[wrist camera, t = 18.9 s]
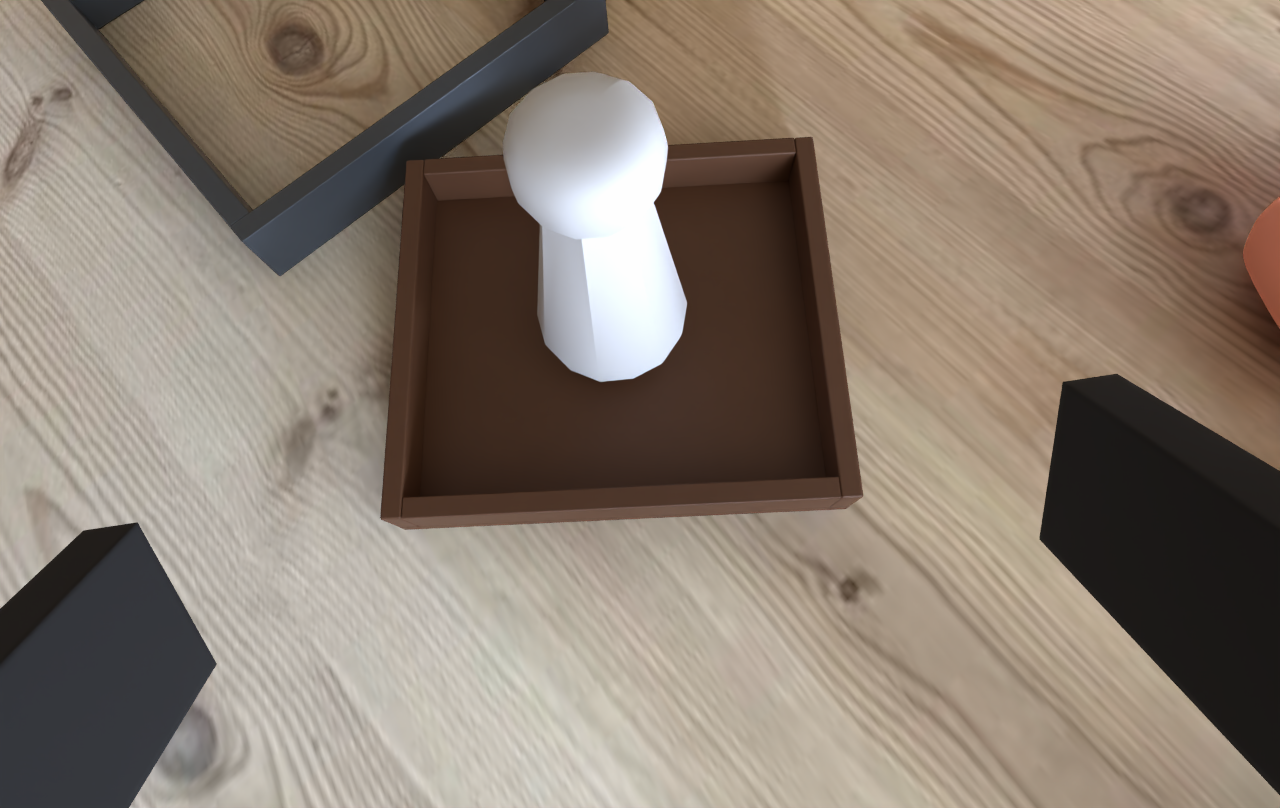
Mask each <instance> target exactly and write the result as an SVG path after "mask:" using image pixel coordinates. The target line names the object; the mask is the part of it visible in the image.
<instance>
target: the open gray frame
mask: <svg viewBox="0 0 1280 808" xmlns="http://www.w3.org/2000/svg"><path fill="white" fill-rule="evenodd" d="M41 1H42V2H43V3H44V5H45V6H46V7H47V8H48V9H49V11H50V12H51V13H52V14H53V15H54V17H55V18H56V19H57V20H58V21H59V23H60V24H61V25H62V26H63V27H64V29H65V30H66V31H67V32H68V33H69V35H70V36H71V37H72V38H73V39H74V41H75V42H76V43H77V44H78V45H79V47H80V48H81V49H82V50H83V51H84V53H85V54H86V55H87V56H88V57H89V59H90V60H91V61H92V62H93V63H94V65H95V66H96V67H97V68H98V69H99V71H100V72H101V73H102V74H103V75H104V77H105V78H106V79H107V80H108V81H109V83H110V84H111V85H112V86H113V87H114V89H115V90H116V91H117V92H118V93H119V95H120V96H121V97H122V98H123V99H124V101H125V102H126V103H127V104H128V105H129V107H130V108H131V109H132V110H133V111H134V113H135V114H136V115H137V116H138V117H139V119H140V120H141V121H142V122H143V123H144V125H145V126H146V127H147V128H148V129H149V131H150V132H151V133H152V134H153V135H154V137H155V138H156V139H157V140H158V141H159V143H160V144H161V145H162V146H163V147H164V149H165V150H166V151H167V152H168V153H169V155H170V156H171V157H172V158H173V159H174V161H175V162H176V163H177V164H178V165H179V167H180V168H181V169H182V170H183V171H184V173H185V174H186V175H187V176H188V177H189V179H190V180H191V181H192V182H193V183H194V185H195V186H196V187H197V188H198V189H199V191H200V192H201V193H202V194H203V195H204V197H205V198H206V199H207V200H208V201H209V203H210V204H211V205H212V206H213V207H214V209H215V210H216V211H217V212H218V213H219V215H220V216H221V217H222V218H223V219H224V221H225V222H226V223H227V224H228V225H229V227H231V229H232V230H233V232H234V233H235V234H236V235H237V236H238V237H239V239H240V240H241V241H242V242H243V243H244V244H245V245H246V246H247V247H248V248H249V249H250V250H252V251H253V252H254V253H255V254H256V255H257V256H258V257H259V258H260V259H261V260H262V261H264V262H265V263H266V264H267V265H268V266H269V267H270V268H271V269H272V270H273V271H274V272H276V273H277V274H278V275H279V276H281V275H282V274H284V273H285V272H286V271H288V270H289V269H290V268H292V267H293V266H294V265H296V264H297V263H298V262H300V261H301V260H303V259H304V258H305V257H307V256H308V255H309V254H311V253H312V252H313V251H315V250H316V249H317V248H319V247H320V246H321V245H323V244H324V243H325V242H327V241H328V240H330V239H331V238H332V237H334V236H335V235H336V234H338V233H339V232H340V231H342V230H343V229H344V228H346V227H347V226H348V225H350V224H351V223H352V222H354V221H355V220H356V219H358V218H359V217H361V216H362V215H363V214H365V213H366V212H367V211H369V210H370V209H371V208H373V207H374V206H375V205H377V204H378V203H379V202H381V201H382V200H383V199H385V198H386V197H388V196H389V195H390V194H392V193H393V192H394V191H396V190H397V189H398V188H400V187H401V186H402V185H404V184H405V174H406V162H407V161H410V160H424V161H425V160H426V159H439V158H440V157H442V156H443V155H444V154H446V153H447V152H448V151H450V150H451V149H452V148H454V147H455V146H456V145H458V144H459V143H460V142H462V141H463V140H464V139H466V138H467V137H469V136H470V135H471V134H473V133H474V132H475V131H477V130H478V129H479V128H481V127H482V126H483V125H485V124H486V123H487V122H489V121H490V120H491V119H493V118H494V117H496V116H497V115H498V114H500V113H501V112H502V111H504V110H505V109H506V108H508V107H509V106H510V105H512V104H513V103H514V102H516V101H517V100H518V99H520V98H521V97H523V96H524V95H525V94H527V93H528V92H529V91H531V90H532V89H533V88H535V87H536V86H537V85H539V84H540V83H541V82H543V81H544V80H545V79H547V78H548V77H550V76H551V75H552V74H554V73H555V72H556V71H558V70H559V69H560V68H562V67H563V66H564V65H566V64H567V63H568V62H570V61H571V60H572V59H574V58H575V57H577V56H578V55H579V54H581V53H582V52H583V51H585V50H586V49H587V48H589V47H590V46H591V45H593V44H594V43H595V42H597V41H598V40H599V39H601V38H602V37H604V36H605V35H606V34H608V32H609V31H608V21H607V10H606V0H545V2H544V3H543V4H541V5H540V6H538V7H537V8H536V9H534V10H533V11H531V12H530V13H529V14H527V15H526V16H524V17H523V18H522V19H520V20H519V21H517V22H516V23H515V24H513V25H512V26H510V27H509V28H508V29H506V30H505V31H503V32H502V33H501V34H499V35H498V36H496V37H495V38H494V39H492V40H491V41H489V42H488V43H487V44H485V45H484V46H482V47H481V48H480V49H478V50H477V51H475V52H474V53H473V54H471V55H470V56H468V57H467V58H466V59H464V60H463V61H461V62H460V63H459V64H457V65H456V66H454V67H453V68H452V69H450V70H449V71H447V72H446V73H445V74H443V75H442V76H440V77H439V78H438V79H436V80H435V81H433V82H432V83H431V84H429V85H428V86H426V87H425V88H424V89H422V90H421V91H419V92H418V93H417V94H415V95H414V96H412V97H411V98H410V99H408V100H407V101H405V102H404V103H403V104H401V105H400V106H398V107H397V108H396V109H394V110H393V111H391V112H390V113H389V114H387V115H386V116H384V117H383V118H382V119H380V120H379V121H377V122H376V123H375V124H373V125H372V126H370V127H369V128H368V129H366V130H365V131H363V132H362V133H361V134H359V135H358V136H356V137H355V138H354V139H352V140H351V141H349V142H348V143H347V144H345V145H344V146H342V147H341V148H340V149H338V150H337V151H335V152H334V153H333V154H331V155H330V156H328V157H327V158H326V159H324V160H323V161H321V162H320V163H319V164H317V165H316V166H315V167H313V168H312V169H310V170H309V171H308V172H306V173H305V174H303V175H302V176H301V177H299V178H298V179H296V180H295V181H294V182H292V183H291V184H289V185H288V186H287V187H285V188H284V189H282V190H281V191H280V192H278V193H277V194H275V195H274V196H273V197H271V198H270V199H268V200H267V201H266V202H264V203H263V204H261V205H260V206H259V207H257V208H256V209H254V210H252V209H251V208H250V206H249V205H248V204H247V203H246V202H245V201H244V199H243V198H242V197H241V196H240V195H239V194H238V192H237V191H236V190H235V189H234V188H233V187H232V185H231V184H230V183H229V182H228V181H227V180H226V178H225V177H224V176H223V175H222V174H221V172H220V171H219V170H218V169H217V168H216V167H215V165H214V164H213V163H212V162H211V161H210V160H209V158H208V157H207V156H206V155H205V154H204V153H203V151H202V150H201V149H200V148H199V147H198V146H197V144H196V143H195V142H194V141H193V140H192V139H191V137H190V136H189V135H188V134H187V133H186V132H185V130H184V129H183V128H182V127H181V126H180V125H179V123H178V122H177V121H176V120H175V119H174V118H173V116H172V115H171V114H170V113H169V112H168V110H167V109H166V108H165V107H164V106H163V105H162V103H161V102H160V101H159V100H158V99H157V98H156V96H155V95H154V94H153V93H152V92H151V91H150V89H149V88H148V87H147V86H146V85H145V84H144V82H143V81H142V80H141V79H140V78H139V77H138V75H137V74H136V73H135V72H134V71H133V70H132V68H131V67H130V66H129V65H128V64H127V63H126V61H125V60H124V59H123V58H122V57H121V55H120V54H119V53H118V52H117V51H116V50H115V48H114V47H113V46H112V45H111V44H110V43H109V41H108V40H107V39H106V38H105V37H104V36H103V34H102V33H101V32H100V31H99V30H98V29H99V28H100V27H102V26H104V25H105V24H107V23H108V22H110V21H112V20H113V19H115V18H116V17H118V16H120V15H121V14H123V13H124V12H126V11H127V10H129V9H131V8H132V7H134V6H135V5H137V4H139V3H140V2H142V1H143V0H41Z"/></svg>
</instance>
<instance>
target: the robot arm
mask: <svg viewBox="0 0 1280 808" xmlns="http://www.w3.org/2000/svg"><path fill="white" fill-rule="evenodd" d="M1040 540H1041V541H1042V542H1043V543H1044V545H1045V546H1046V547H1047V548H1048V549H1049V550H1050V551H1051V552H1052V553H1053V554H1054V555H1055V556H1056V557H1057V558H1058V559H1059V561H1060V562H1061V563H1062V564H1063V565H1064V566H1065V567H1066V568H1067V569H1068V570H1069V571H1070V572H1071V573H1072V574H1073V575H1074V576H1075V578H1076V579H1077V580H1078V581H1079V582H1080V583H1081V584H1082V585H1083V586H1084V587H1085V588H1086V589H1087V590H1088V591H1089V592H1090V594H1091V595H1092V596H1093V597H1094V598H1095V599H1096V600H1097V601H1098V602H1099V603H1100V604H1101V605H1102V606H1103V607H1104V608H1105V610H1106V611H1107V612H1108V613H1109V614H1110V615H1111V616H1112V617H1113V618H1114V619H1115V620H1116V621H1117V622H1118V623H1119V624H1120V625H1121V627H1122V628H1123V629H1124V630H1125V631H1126V632H1127V633H1128V634H1129V635H1130V636H1131V637H1132V638H1133V639H1134V640H1135V641H1136V643H1137V644H1138V645H1139V646H1140V647H1141V648H1142V649H1143V650H1144V651H1145V652H1146V653H1147V654H1148V655H1149V656H1150V657H1151V659H1152V660H1153V661H1154V662H1155V663H1156V664H1157V665H1158V666H1159V667H1160V668H1161V669H1162V670H1163V671H1164V672H1165V673H1166V675H1167V676H1168V677H1169V678H1170V679H1171V680H1172V681H1173V682H1174V683H1175V684H1176V685H1177V686H1178V687H1179V688H1180V689H1181V690H1182V692H1183V693H1184V694H1185V695H1186V696H1187V697H1188V698H1189V699H1190V700H1191V701H1192V702H1193V703H1194V704H1195V705H1196V706H1197V708H1198V709H1199V710H1200V711H1201V712H1202V713H1203V714H1204V715H1205V716H1206V717H1207V718H1208V719H1209V720H1210V721H1211V722H1212V724H1213V725H1214V726H1215V727H1216V728H1217V729H1218V730H1219V731H1220V732H1221V733H1222V734H1223V735H1224V736H1225V737H1226V738H1227V739H1228V741H1229V742H1230V743H1231V744H1232V745H1233V746H1234V747H1235V748H1236V749H1237V750H1238V751H1239V752H1240V753H1241V754H1242V755H1243V757H1244V758H1245V759H1246V760H1247V761H1248V762H1249V763H1250V764H1251V765H1252V766H1253V767H1254V768H1255V769H1256V770H1257V771H1258V773H1259V774H1260V775H1261V776H1262V777H1263V778H1264V779H1265V780H1266V781H1267V782H1268V783H1269V784H1270V785H1271V786H1272V787H1273V789H1274V790H1275V791H1276V792H1277V793H1278V794H1279V795H1280V471H1279V470H1277V469H1275V468H1274V467H1272V466H1270V465H1269V464H1267V463H1265V462H1264V461H1262V460H1260V459H1259V458H1257V457H1255V456H1254V455H1252V454H1250V453H1249V452H1247V451H1245V450H1244V449H1242V448H1240V447H1238V446H1237V445H1235V444H1233V443H1232V442H1230V441H1228V440H1227V439H1225V438H1223V437H1222V436H1220V435H1218V434H1217V433H1215V432H1213V431H1212V430H1210V429H1208V428H1207V427H1205V426H1203V425H1202V424H1200V423H1198V422H1197V421H1195V420H1193V419H1192V418H1190V417H1188V416H1187V415H1185V414H1183V413H1182V412H1180V411H1178V410H1177V409H1175V408H1173V407H1172V406H1170V405H1168V404H1167V403H1165V402H1163V401H1161V400H1160V399H1158V398H1156V397H1155V396H1153V395H1151V394H1150V393H1148V392H1146V391H1145V390H1143V389H1141V388H1140V387H1138V386H1136V385H1135V384H1133V383H1131V382H1130V381H1128V380H1126V379H1125V378H1123V377H1121V376H1120V375H1118V374H1113V375H1106V376H1099V377H1093V378H1086V379H1080V380H1073V381H1066V382H1063V385H1062V391H1061V398H1060V405H1059V411H1058V418H1057V425H1056V431H1055V438H1054V445H1053V452H1052V458H1051V465H1050V472H1049V478H1048V485H1047V492H1046V499H1045V505H1044V512H1043V519H1042V525H1041V532H1040ZM215 666H216V662H215V660H214V658H213V657H212V655H211V653H210V651H209V649H208V648H207V646H206V644H205V642H204V640H203V639H202V637H201V635H200V633H199V631H198V630H197V628H196V626H195V624H194V623H193V621H192V619H191V617H190V615H189V614H188V612H187V610H186V608H185V606H184V605H183V603H182V601H181V599H180V598H179V596H178V594H177V592H176V590H175V589H174V587H173V585H172V583H171V581H170V580H169V578H168V576H167V574H166V573H165V571H164V569H163V567H162V565H161V564H160V562H159V560H158V558H157V556H156V555H155V553H154V551H153V549H152V547H151V546H150V544H149V542H148V540H147V539H146V537H145V535H144V533H143V531H142V530H141V528H140V526H139V524H138V522H137V523H131V524H124V525H118V526H111V527H104V528H98V529H91V530H85V531H83V532H82V533H80V534H79V535H78V536H77V537H76V538H75V539H74V540H73V541H72V542H71V543H70V544H69V545H68V546H67V547H66V548H65V549H63V550H62V551H61V552H60V553H59V554H58V555H57V556H56V557H55V558H54V559H53V560H52V561H51V562H50V563H49V564H47V565H46V566H45V567H44V568H43V569H42V570H41V571H40V572H39V573H38V574H37V575H36V576H35V577H34V578H33V579H32V580H30V581H29V582H28V583H27V584H26V585H25V586H24V587H23V588H22V589H21V590H20V591H19V592H18V593H17V594H16V595H14V596H13V597H12V598H11V599H10V600H9V601H8V602H7V603H6V604H5V605H4V606H3V607H2V608H1V609H0V808H129V807H130V805H131V803H132V802H133V800H134V799H135V797H136V795H137V794H138V792H139V790H140V789H141V787H142V785H143V784H144V782H145V781H146V779H147V777H148V776H149V774H150V772H151V771H152V769H153V767H154V766H155V764H156V763H157V761H158V759H159V758H160V756H161V754H162V753H163V751H164V749H165V748H166V746H167V745H168V743H169V741H170V740H171V738H172V736H173V735H174V733H175V731H176V730H177V728H178V727H179V725H180V723H181V722H182V720H183V718H184V717H185V715H186V713H187V712H188V710H189V709H190V707H191V705H192V704H193V702H194V700H195V699H196V697H197V695H198V694H199V692H200V691H201V689H202V687H203V686H204V684H205V682H206V681H207V679H208V677H209V676H210V674H211V673H212V671H213V669H214V668H215Z"/></svg>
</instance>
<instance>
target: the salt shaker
mask: <svg viewBox="0 0 1280 808" xmlns="http://www.w3.org/2000/svg"><path fill="white" fill-rule="evenodd" d="M667 152H668V144H667V140H666V137H665V133H664V129H663V127H662V124H661V122H660V119H659V117H658V114H657V112H656V109H655V107H654V104H653V102H652V101H651V100H650V99H649V98H648V97H646V96H645V95H644V94H643V93H642V92H641V91H640V90H638V89H637V88H636V87H635V86H634V85H633V84H632V83H631V82H629V81H626V80H623V79H619V78H616V77H612V76H609V75H605V74H602V73H599V72H580V73H567V74H562V75H560V76H558V77H556V78H554V79H552V80H550V81H548V82H546V83H544V84H541V85H539V86H537V87H535V88H534V89H532V90H531V91H530V92H529V93H528V94H527V95H526V96H525V97H524V98H523V100H522V101H521V102H520V103H519V104H518V105H517V106H516V107H515V108H514V109H513V111H512V112H511V113H510V115H509V119H508V123H507V127H506V131H505V135H504V139H503V155H504V162H505V166H506V170H507V173H508V177H509V181H510V184H511V188H512V191H513V193H514V195H515V197H516V200H517V202H518V204H519V205H520V206H522V207H523V208H524V209H525V210H526V211H527V212H528V213H529V214H530V215H531V216H532V217H533V218H534V219H535V220H536V221H537V222H538V223H539V224H540V237H539V271H538V305H537V316H538V319H539V323H540V327H541V331H542V334H543V338H544V342H545V345H546V346H547V347H548V348H549V349H550V350H551V351H552V352H553V353H554V354H555V355H556V356H557V357H558V358H559V359H560V360H561V361H562V362H563V363H564V364H565V365H566V366H567V367H568V368H569V369H570V370H571V371H574V372H577V373H579V374H582V375H584V376H587V377H589V378H592V379H594V380H597V381H600V382H605V381H615V380H625V379H634V378H635V377H637V376H639V375H641V374H643V373H645V372H647V371H649V370H651V369H653V368H655V367H657V366H659V365H661V364H662V363H663V362H664V360H665V359H666V357H667V356H668V354H669V353H670V351H671V350H672V349H673V347H674V346H675V344H676V343H677V341H678V340H679V338H680V337H681V335H682V331H683V325H684V319H685V313H686V307H687V301H686V298H685V295H684V292H683V289H682V286H681V283H680V280H679V277H678V274H677V271H676V268H675V265H674V262H673V259H672V256H671V253H670V250H669V247H668V244H667V241H666V238H665V235H664V232H663V229H662V226H661V223H660V220H659V217H658V214H657V211H656V208H655V205H654V201H655V200H656V198H657V197H658V196H659V194H660V192H661V189H662V184H663V178H664V173H665V168H666V162H667Z"/></svg>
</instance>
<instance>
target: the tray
mask: <svg viewBox="0 0 1280 808" xmlns="http://www.w3.org/2000/svg"><path fill="white" fill-rule="evenodd" d="M654 205H655V208H656V211H657V214H658V217H659V220H660V223H661V226H662V229H663V232H664V235H665V238H666V241H667V244H668V247H669V250H670V253H671V256H672V259H673V262H674V265H675V268H676V271H677V274H678V277H679V280H680V283H681V286H682V289H683V292H684V295H685V298H686V301H687V307H686V313H685V319H684V325H683V331H682V335H681V337H680V338H679V340H678V341H677V343H676V344H675V346H674V347H673V349H672V350H671V351H670V353H669V354H668V356H667V357H666V359H665V360H664V362H663V363H662V364H661V365H659V366H657V367H655V368H653V369H651V370H649V371H647V372H645V373H643V374H641V375H639V376H637V377H635V378H634V379H625V380H615V381H605V382H600V381H597V380H594V379H592V378H589V377H587V376H584V375H582V374H579V373H577V372H574V371H571V370H570V369H569V368H568V367H567V366H566V365H565V364H564V363H563V362H562V361H561V360H560V359H559V358H558V357H557V356H556V355H555V354H554V353H553V352H552V351H551V350H550V349H549V348H548V347H547V346H546V345H545V342H544V338H543V334H542V331H541V327H540V323H539V319H538V316H537V305H538V271H539V237H540V224H539V223H538V222H537V221H536V220H535V219H534V218H533V217H532V216H531V215H530V214H529V213H528V212H527V211H526V210H525V209H524V208H523V207H522V206H520V205H519V204H518V202H517V200H516V197H515V195H514V193H513V191H512V188H511V184H510V181H509V177H508V173H507V170H506V166H505V162H504V155H492V156H475V157H458V158H441V159H426V160H425V161H424V160H410V161H407V162H406V174H405V188H404V202H403V215H402V229H401V243H400V256H399V270H398V284H397V297H396V311H395V325H394V339H393V352H392V366H391V380H390V393H389V407H388V421H387V434H386V448H385V462H384V476H383V489H382V503H381V517H380V518H381V520H384V521H386V522H389V523H391V524H394V525H396V526H399V527H400V528H403V529H405V530H406V529H428V528H449V527H470V526H491V525H513V524H534V523H555V522H577V521H598V520H619V519H640V518H662V517H683V516H704V515H725V514H747V513H768V512H789V511H810V510H832V509H846V508H848V507H849V506H850V505H851V504H853V503H854V502H856V501H857V500H859V499H860V498H862V497H863V490H862V483H861V476H860V469H859V462H858V455H857V448H856V441H855V434H854V426H853V419H852V412H851V405H850V398H849V391H848V384H847V377H846V370H845V363H844V356H843V348H842V341H841V334H840V327H839V320H838V313H837V306H836V299H835V292H834V285H833V277H832V270H831V263H830V256H829V249H828V242H827V235H826V228H825V221H824V214H823V207H822V199H821V192H820V185H819V178H818V171H817V164H816V157H815V150H814V143H813V138H812V137H802V138H795V140H794V138H782V139H765V140H748V141H731V142H714V143H697V144H680V145H668V152H667V162H666V168H665V173H664V178H663V184H662V189H661V192H660V194H659V196H658V197H657V198H656V200H655V201H654Z"/></svg>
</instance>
